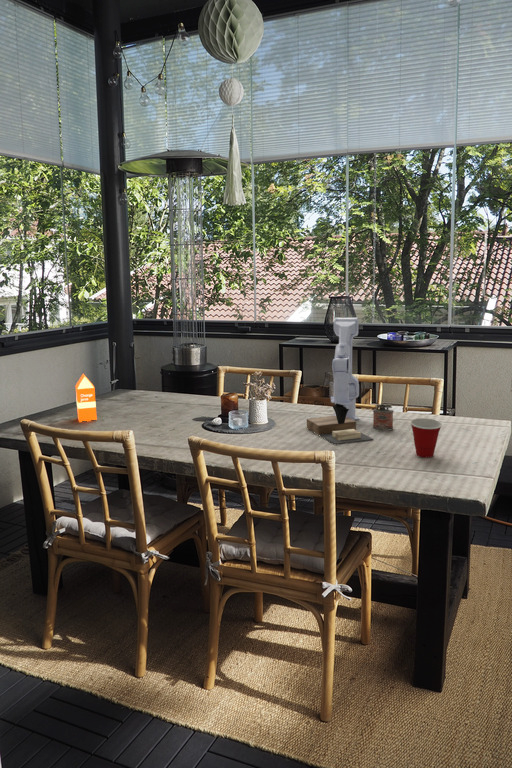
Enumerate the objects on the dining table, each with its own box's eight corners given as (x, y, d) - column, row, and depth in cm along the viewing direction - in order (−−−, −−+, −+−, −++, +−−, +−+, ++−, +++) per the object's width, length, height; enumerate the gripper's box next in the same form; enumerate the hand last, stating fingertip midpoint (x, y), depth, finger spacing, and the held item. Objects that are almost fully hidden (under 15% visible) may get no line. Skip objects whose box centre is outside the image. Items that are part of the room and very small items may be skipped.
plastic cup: (422, 461, 224) (423, 427, 221) (402, 453, 233) (403, 420, 231) (448, 457, 228) (449, 423, 225) (428, 449, 238) (429, 416, 235)
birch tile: (339, 435, 249) (339, 440, 250) (360, 432, 252) (360, 437, 253) (332, 431, 255) (332, 436, 255) (353, 428, 258) (353, 433, 258)
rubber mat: (319, 435, 259) (319, 434, 259) (356, 431, 264) (356, 430, 264) (334, 444, 246) (334, 443, 246) (373, 440, 251) (373, 438, 251)
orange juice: (95, 416, 300) (92, 372, 296) (97, 420, 291) (94, 375, 287) (77, 417, 297) (74, 373, 293) (78, 422, 289) (75, 376, 285)
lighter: (372, 428, 267) (372, 404, 265) (373, 426, 270) (373, 402, 268) (392, 429, 265) (392, 405, 263) (393, 427, 268) (394, 403, 266)
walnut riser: (306, 428, 270) (306, 418, 269) (342, 424, 275) (342, 414, 274) (319, 435, 259) (318, 425, 258) (356, 431, 264) (356, 421, 263)
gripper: (323, 386, 260) (323, 420, 263) (340, 393, 247) (340, 428, 249) (340, 384, 263) (340, 418, 265) (357, 391, 249) (356, 426, 252)
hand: (341, 423), depth 257 cm, fingers closed
